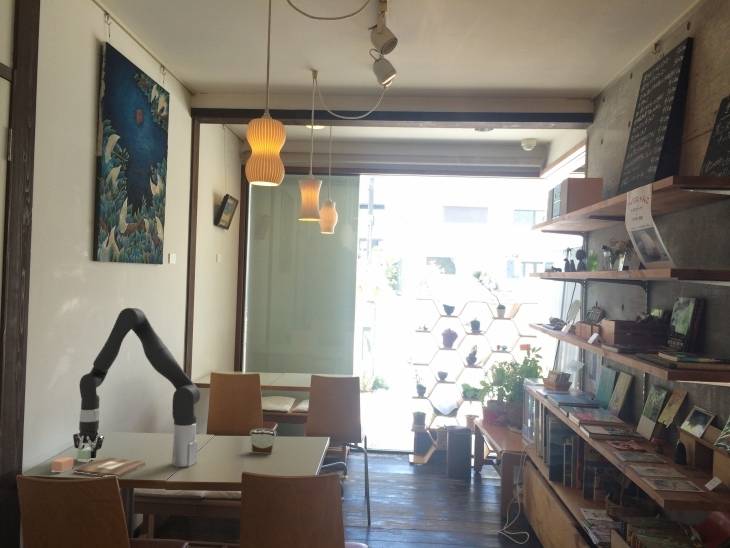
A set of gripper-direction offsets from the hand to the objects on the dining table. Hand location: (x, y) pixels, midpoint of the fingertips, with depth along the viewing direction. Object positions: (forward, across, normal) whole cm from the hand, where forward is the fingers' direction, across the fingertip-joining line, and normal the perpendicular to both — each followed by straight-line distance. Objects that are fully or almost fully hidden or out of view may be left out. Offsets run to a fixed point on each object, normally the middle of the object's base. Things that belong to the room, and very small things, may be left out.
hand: (87, 458), depth 227 cm
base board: (0, -17, +7) cm, 18 cm away
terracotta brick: (+1, 0, +14) cm, 14 cm away
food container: (+1, -66, -36) cm, 75 cm away
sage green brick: (+1, 0, 0) cm, 1 cm away
